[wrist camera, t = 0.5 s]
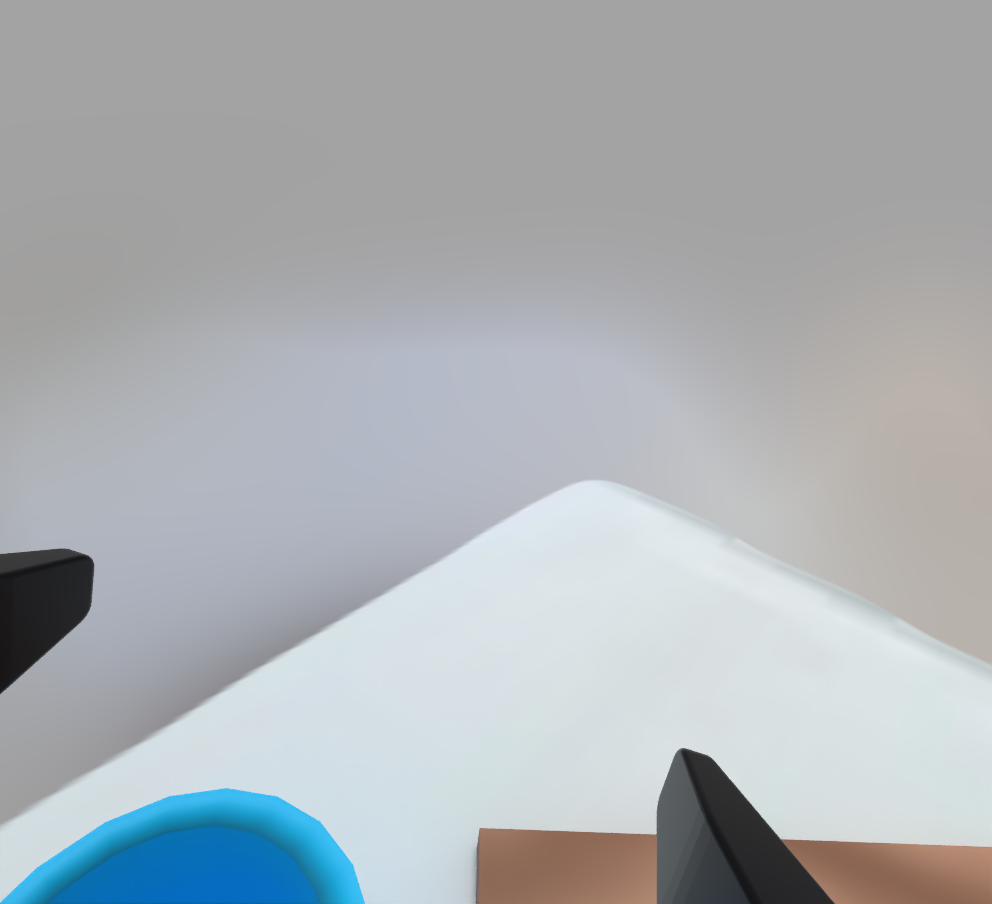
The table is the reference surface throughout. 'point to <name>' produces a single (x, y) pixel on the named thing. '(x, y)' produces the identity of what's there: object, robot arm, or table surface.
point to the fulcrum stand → (633, 869)
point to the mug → (199, 857)
